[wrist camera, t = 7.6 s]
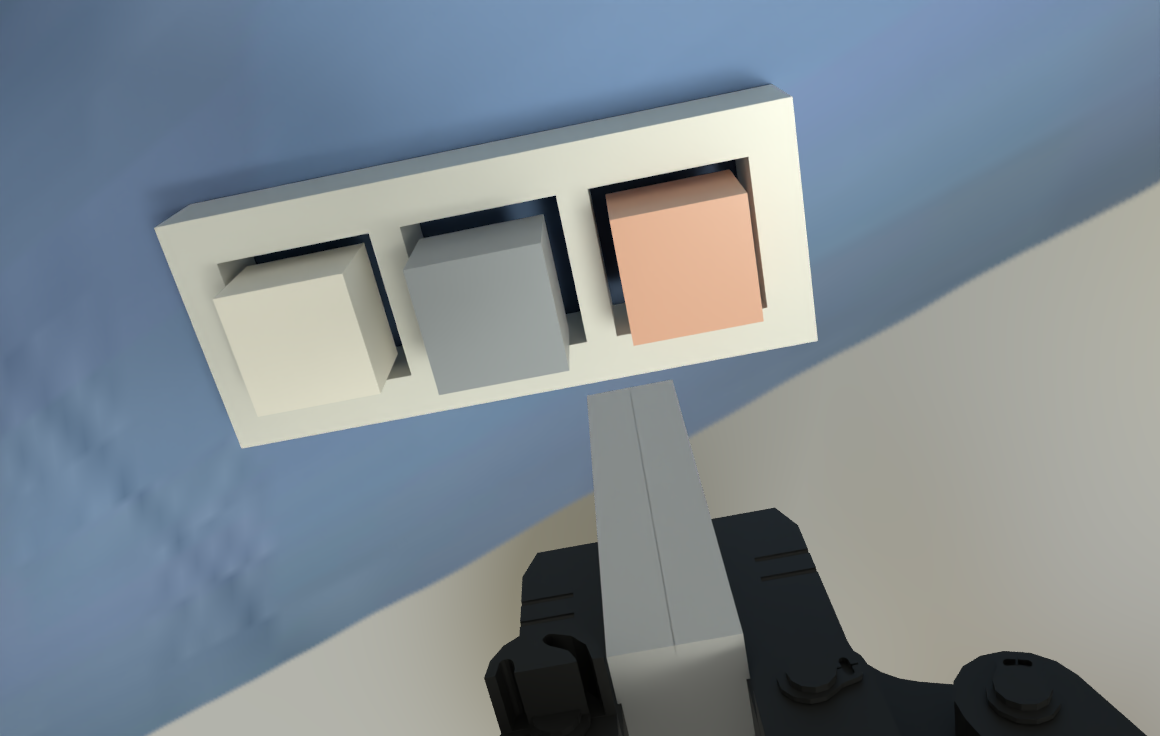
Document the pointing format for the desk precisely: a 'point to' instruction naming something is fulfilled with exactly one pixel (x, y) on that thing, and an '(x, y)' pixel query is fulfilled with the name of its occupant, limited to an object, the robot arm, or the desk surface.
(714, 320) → the key terracotta
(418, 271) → the key slate
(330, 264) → the key ivory
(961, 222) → the desk surface
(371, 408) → the keypad housing
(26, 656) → the desk surface
